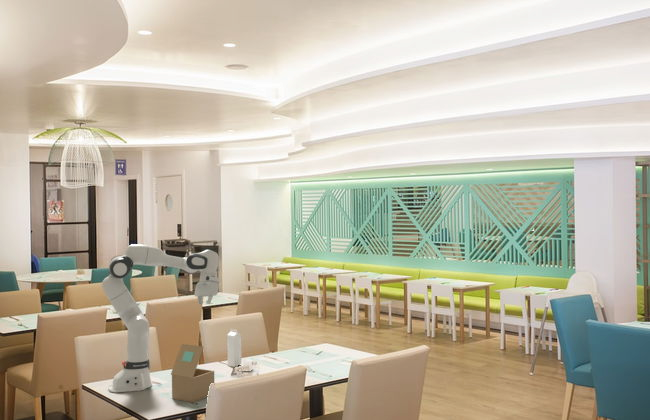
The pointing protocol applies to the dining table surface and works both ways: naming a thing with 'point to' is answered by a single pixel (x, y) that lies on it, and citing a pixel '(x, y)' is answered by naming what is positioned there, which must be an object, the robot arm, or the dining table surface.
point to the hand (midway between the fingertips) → (204, 304)
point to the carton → (192, 386)
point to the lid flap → (187, 360)
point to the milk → (234, 348)
